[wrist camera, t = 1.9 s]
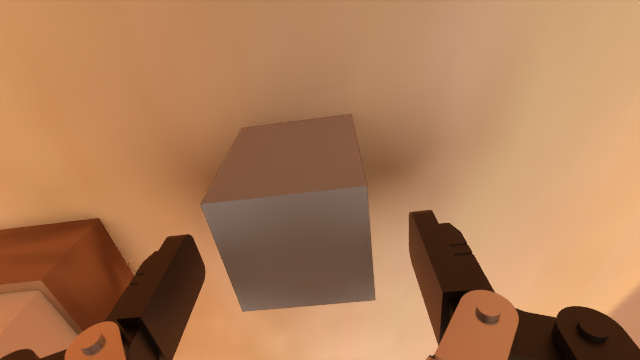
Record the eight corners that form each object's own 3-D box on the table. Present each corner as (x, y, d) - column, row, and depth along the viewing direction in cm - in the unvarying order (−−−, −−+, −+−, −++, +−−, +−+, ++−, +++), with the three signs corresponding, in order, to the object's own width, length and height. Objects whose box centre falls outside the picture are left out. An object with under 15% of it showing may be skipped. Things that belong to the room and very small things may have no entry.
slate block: (241, 127, 15) (200, 204, 10) (351, 113, 15) (366, 185, 10) (265, 215, 18) (242, 311, 13) (359, 205, 17) (375, 300, 12)
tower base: (-18, 230, 18) (-107, 296, 15) (100, 216, 18) (40, 280, 14) (52, 311, 22) (-5, 381, 18) (152, 301, 22) (116, 371, 18)
